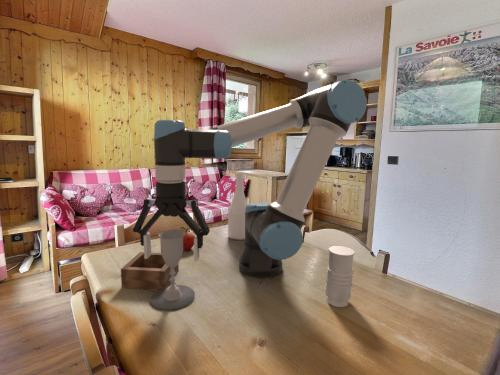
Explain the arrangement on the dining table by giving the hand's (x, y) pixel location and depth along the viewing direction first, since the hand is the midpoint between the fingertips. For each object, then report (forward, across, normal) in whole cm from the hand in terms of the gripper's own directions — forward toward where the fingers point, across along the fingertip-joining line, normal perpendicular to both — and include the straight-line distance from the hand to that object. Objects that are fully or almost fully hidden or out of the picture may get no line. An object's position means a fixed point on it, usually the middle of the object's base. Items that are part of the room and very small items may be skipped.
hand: (172, 258), depth 78 cm
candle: (+12, -46, -3) cm, 48 cm away
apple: (+12, +6, -35) cm, 37 cm away
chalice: (+11, 0, 0) cm, 11 cm away
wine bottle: (+12, -13, -53) cm, 56 cm away
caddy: (+12, +10, -10) cm, 18 cm away
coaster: (+12, 0, 0) cm, 12 cm away
